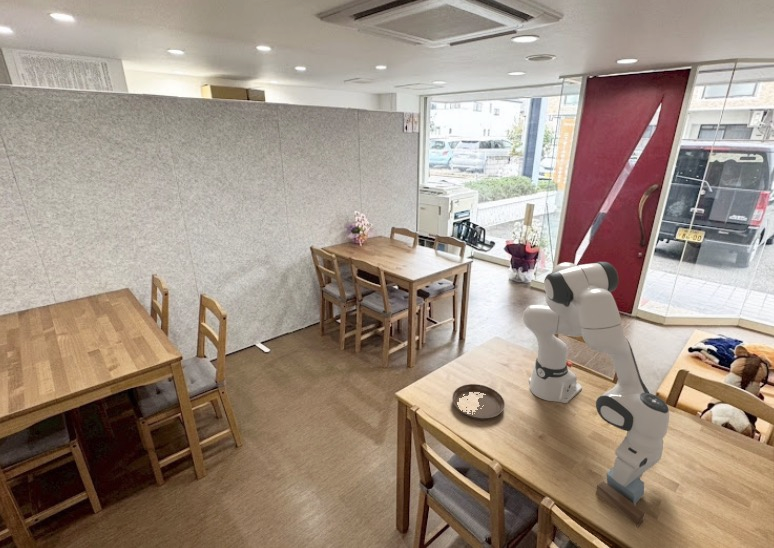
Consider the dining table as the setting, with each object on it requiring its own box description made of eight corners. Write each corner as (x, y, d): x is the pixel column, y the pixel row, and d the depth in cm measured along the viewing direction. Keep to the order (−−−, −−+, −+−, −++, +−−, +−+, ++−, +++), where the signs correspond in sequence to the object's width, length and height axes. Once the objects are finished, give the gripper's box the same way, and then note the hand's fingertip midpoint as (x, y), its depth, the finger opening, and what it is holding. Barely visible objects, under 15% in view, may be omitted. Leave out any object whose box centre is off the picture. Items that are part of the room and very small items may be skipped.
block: (617, 475, 119) (616, 463, 116) (643, 494, 112) (644, 482, 109) (607, 485, 117) (606, 473, 114) (633, 505, 110) (633, 493, 108)
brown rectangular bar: (601, 489, 116) (603, 481, 114) (642, 521, 106) (645, 512, 104) (595, 494, 114) (597, 485, 113) (636, 527, 104) (639, 517, 103)
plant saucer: (515, 415, 148) (516, 408, 147) (470, 430, 141) (470, 422, 140) (483, 385, 166) (484, 379, 165) (442, 397, 159) (443, 391, 158)
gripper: (650, 426, 118) (641, 460, 123) (612, 452, 109) (604, 488, 113) (672, 439, 113) (663, 474, 118) (634, 467, 104) (625, 505, 108)
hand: (633, 481), depth 115 cm, fingers closed
